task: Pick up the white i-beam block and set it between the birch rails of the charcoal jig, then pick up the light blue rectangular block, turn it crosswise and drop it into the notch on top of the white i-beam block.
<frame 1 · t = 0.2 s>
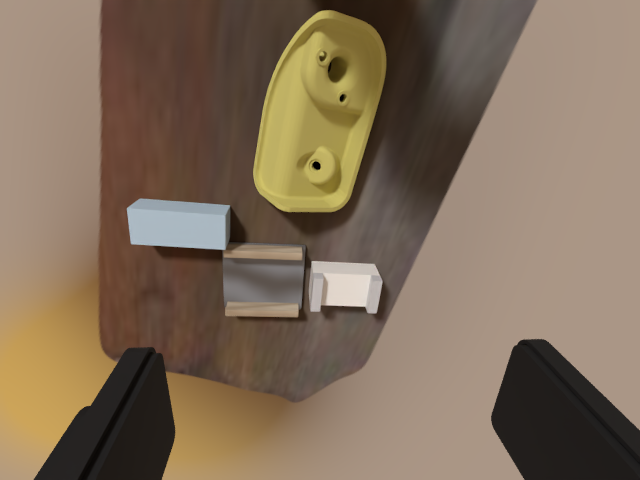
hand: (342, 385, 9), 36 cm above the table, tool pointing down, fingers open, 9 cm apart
light blue rectangular block: (187, 218, 45), on the table
assembly jig: (264, 275, 49), on the table
plastic component: (318, 121, 42), on the table
white i-beam block: (341, 277, 50), on the table
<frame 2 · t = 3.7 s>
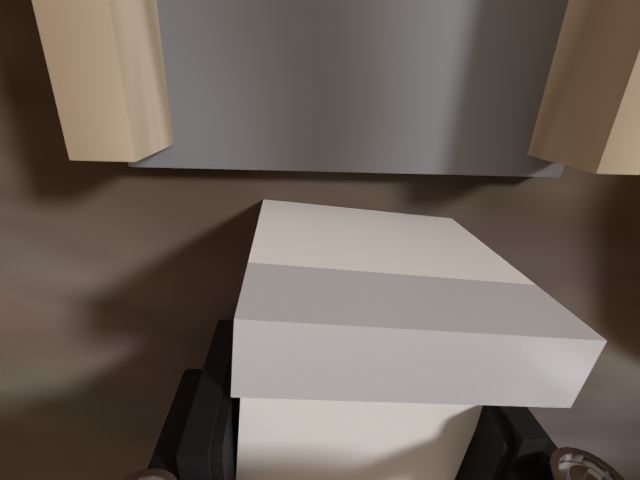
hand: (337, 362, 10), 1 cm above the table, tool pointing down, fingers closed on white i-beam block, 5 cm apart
white i-beam block: (335, 347, 11), on the table, touching gripper
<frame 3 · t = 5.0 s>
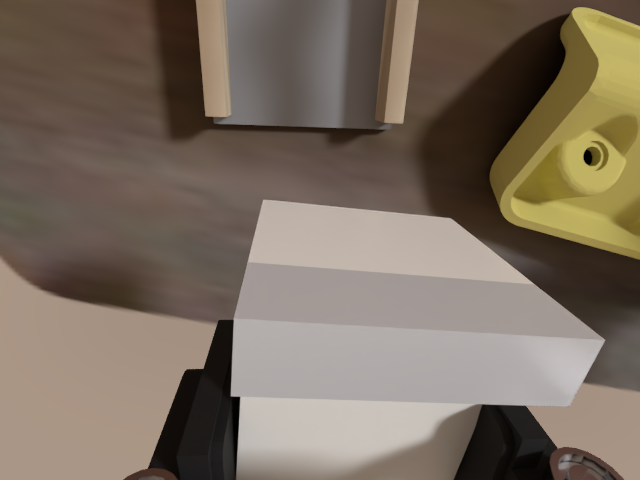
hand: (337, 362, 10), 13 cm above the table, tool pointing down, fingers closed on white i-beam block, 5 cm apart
assembly jig: (306, 14, 18), on the table
plastic component: (621, 158, 23), on the table
white i-beam block: (335, 347, 11), point 13 cm above the table, touching gripper
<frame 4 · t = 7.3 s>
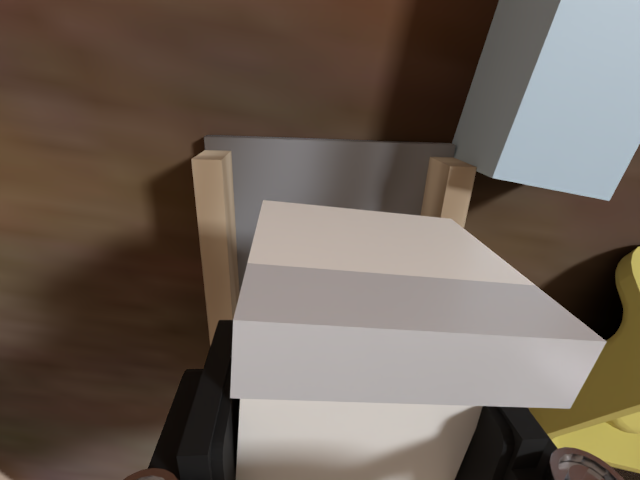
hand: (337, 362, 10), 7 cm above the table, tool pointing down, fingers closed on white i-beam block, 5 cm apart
light blue rectangular block: (544, 26, 14), on the table
assembly jig: (325, 259, 16), on the table
white i-beam block: (335, 348, 11), point 6 cm above the table, touching gripper
when the fingers open (4 cm above the table, at t = 8.3 s): white i-beam block drops 2 cm, resting on assembly jig.
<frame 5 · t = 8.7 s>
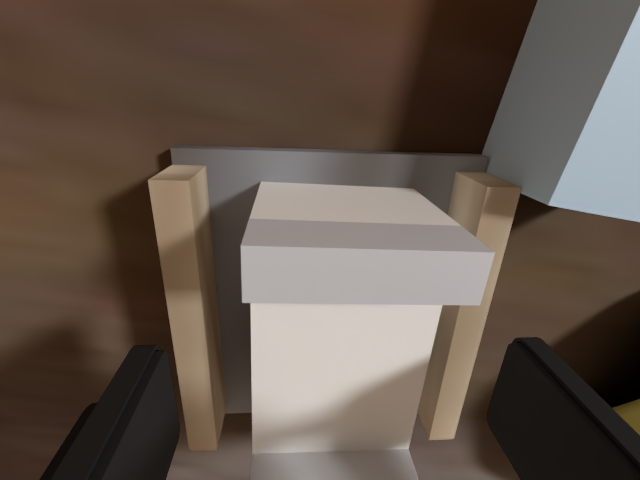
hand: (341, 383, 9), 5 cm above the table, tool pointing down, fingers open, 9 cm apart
light blue rectangular block: (601, 8, 11), on the table
assembly jig: (325, 293, 14), on the table
white i-beam block: (328, 303, 13), point 1 cm above the table, touching assembly jig
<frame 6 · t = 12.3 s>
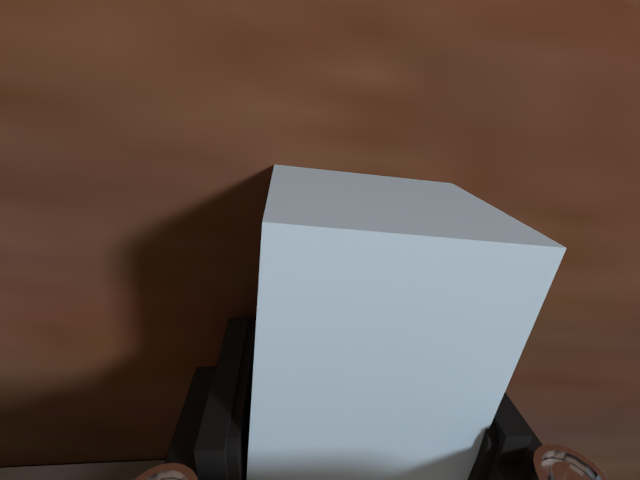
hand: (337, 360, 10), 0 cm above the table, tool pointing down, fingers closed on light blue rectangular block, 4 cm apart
light blue rectangular block: (335, 351, 11), on the table, touching gripper
when the fingers open (6 cm above the table, at t = 16.8 s): light blue rectangular block drops 2 cm, resting on white i-beam block.
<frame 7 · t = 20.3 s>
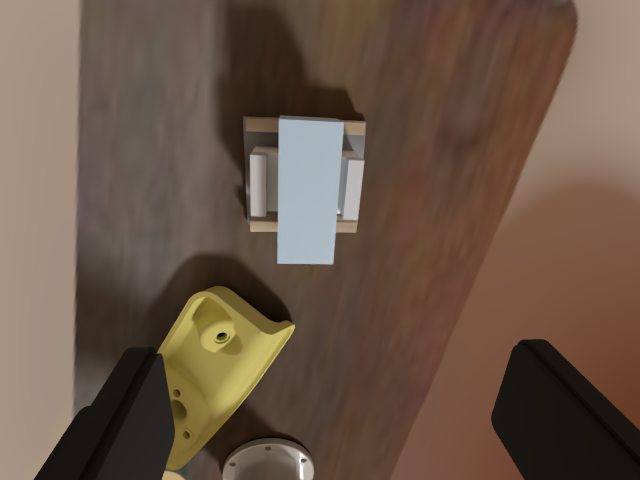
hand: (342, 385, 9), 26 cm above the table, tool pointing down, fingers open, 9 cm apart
light blue rectangular block: (306, 185, 30), point 4 cm above the table, touching white i-beam block
assembly jig: (304, 173, 33), on the table
plastic component: (212, 351, 41), on the table
white i-beam block: (304, 175, 33), point 1 cm above the table, touching assembly jig, light blue rectangular block
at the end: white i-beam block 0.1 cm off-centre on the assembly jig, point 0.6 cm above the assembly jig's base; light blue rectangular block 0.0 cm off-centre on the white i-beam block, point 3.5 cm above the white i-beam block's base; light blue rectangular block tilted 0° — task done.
